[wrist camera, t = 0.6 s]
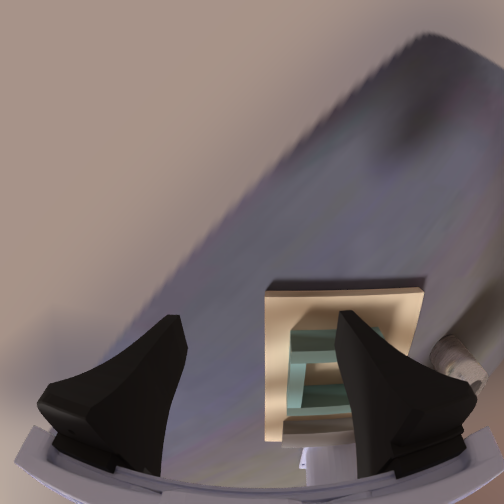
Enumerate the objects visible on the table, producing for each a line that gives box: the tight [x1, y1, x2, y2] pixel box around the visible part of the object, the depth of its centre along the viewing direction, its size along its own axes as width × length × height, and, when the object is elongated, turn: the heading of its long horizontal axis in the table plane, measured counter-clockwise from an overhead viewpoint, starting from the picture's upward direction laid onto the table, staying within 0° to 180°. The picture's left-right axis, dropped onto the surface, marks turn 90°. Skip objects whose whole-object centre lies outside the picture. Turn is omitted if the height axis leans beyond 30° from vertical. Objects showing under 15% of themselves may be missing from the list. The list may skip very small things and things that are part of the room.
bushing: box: [430, 335, 488, 396], centre depth 20 cm, size 4×4×7 cm
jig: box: [265, 287, 424, 448], centre depth 23 cm, size 20×14×4 cm
